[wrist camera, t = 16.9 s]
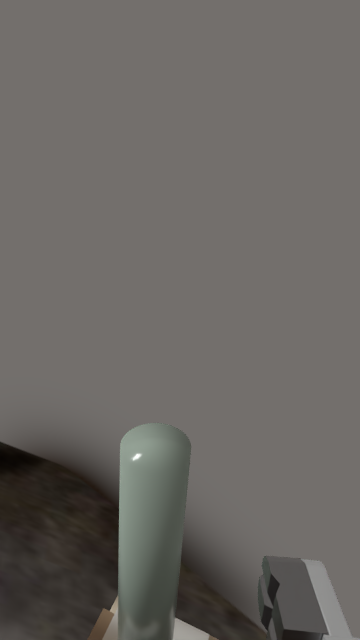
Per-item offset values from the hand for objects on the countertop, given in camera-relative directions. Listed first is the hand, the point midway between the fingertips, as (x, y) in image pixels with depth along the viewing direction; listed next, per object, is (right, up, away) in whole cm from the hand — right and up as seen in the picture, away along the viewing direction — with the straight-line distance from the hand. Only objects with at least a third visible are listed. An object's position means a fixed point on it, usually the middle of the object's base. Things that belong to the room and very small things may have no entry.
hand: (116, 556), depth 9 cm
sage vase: (-2, -27, +20) cm, 33 cm away
